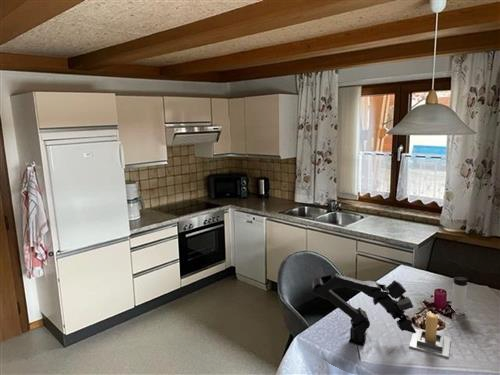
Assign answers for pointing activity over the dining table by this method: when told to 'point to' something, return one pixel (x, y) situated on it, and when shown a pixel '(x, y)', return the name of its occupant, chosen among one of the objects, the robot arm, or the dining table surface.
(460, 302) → the travel mug
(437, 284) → the dining table surface
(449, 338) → the socket
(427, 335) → the rounded tan peg
